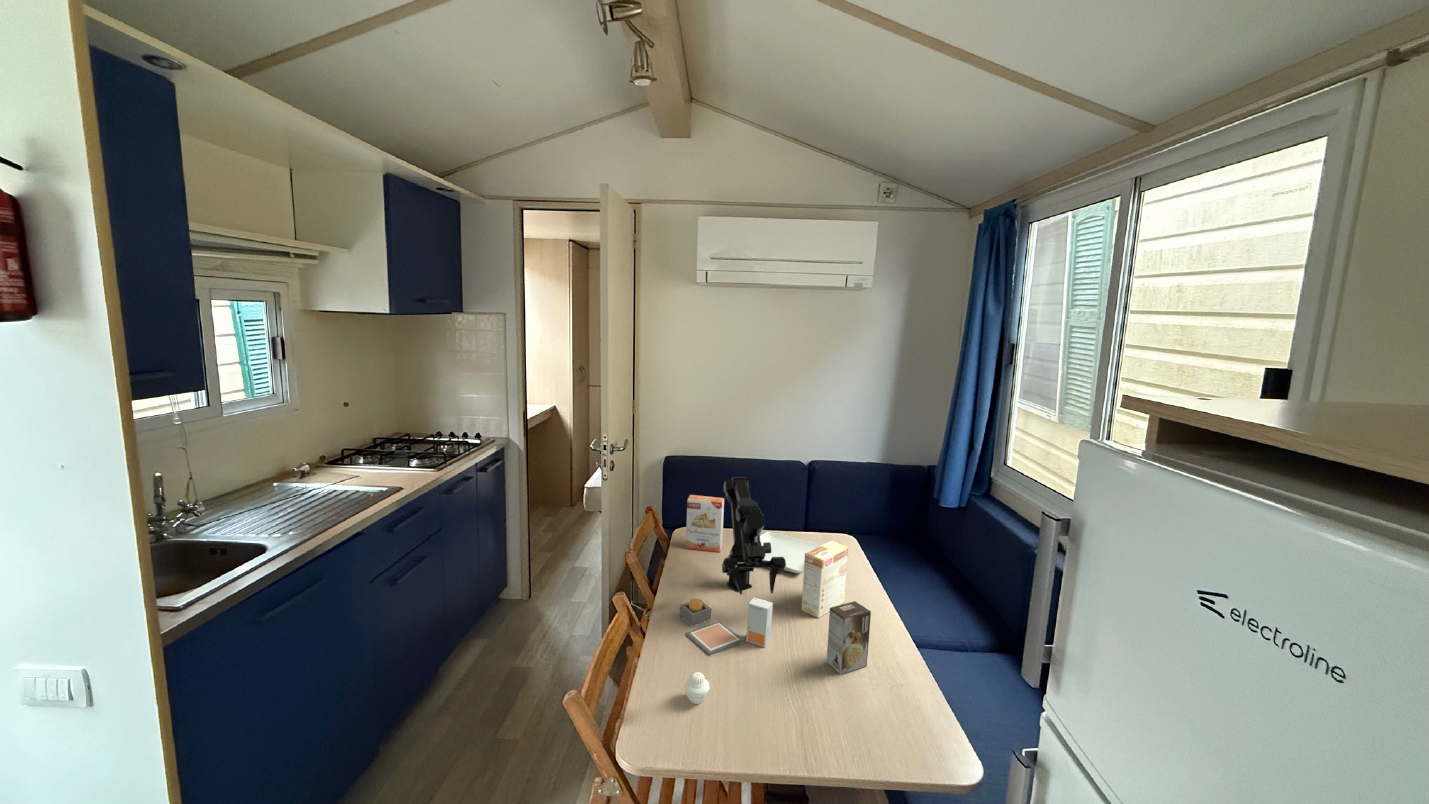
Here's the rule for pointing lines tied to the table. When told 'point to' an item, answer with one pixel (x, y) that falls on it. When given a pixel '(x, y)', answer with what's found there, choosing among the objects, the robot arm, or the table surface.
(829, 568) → the coffeecake box
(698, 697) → the white lidded jar
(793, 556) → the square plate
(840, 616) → the coffee box
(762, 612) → the skincare box
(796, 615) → the table surface
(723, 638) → the picture board
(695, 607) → the button
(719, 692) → the table surface
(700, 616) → the button housing
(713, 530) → the cracker box
